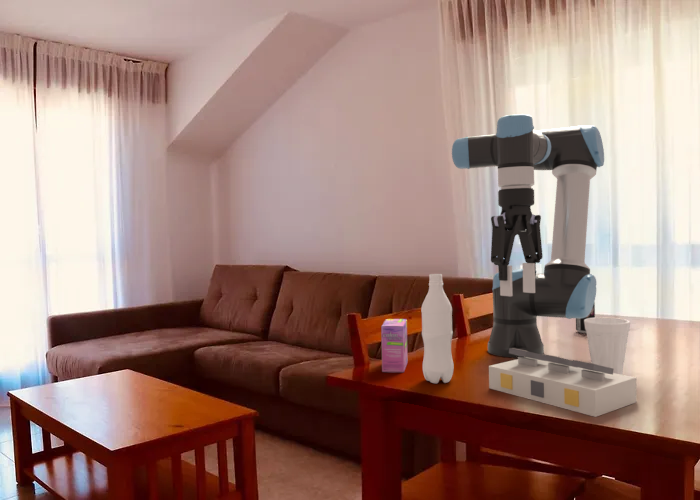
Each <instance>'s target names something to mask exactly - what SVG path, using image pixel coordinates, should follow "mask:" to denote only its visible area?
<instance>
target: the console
mask: <svg viewBox="0 0 700 500" xmlns="http://www.w3.org/2000/svg"><path fill="white" fill-rule="evenodd" d="M488 388H489V389H491V390H494V391H497V392H501V393H505V394H509V395H513V396H516V397H521V398H525V399H528V400H531V401H535V402H537V403H538V402H539V403H543V404H547V405H551V406H555V407H556V408H557V407H558V408H561V409H565V410H569V411H572V412H576V413H580V414H584V415H587V416H591V417H595V418H597V417H599V416H601V415H605V414H608V413H610V412H613V411H616V410H618V409H621V408H624V407H627V406H629V405H633V404H635V403H637V377H636V376H631V375H625V374H622V375H621V374H616V373H613V375H612V374H607V373H602V372H597V371H592V370H587V369H583V368H579V367H572V366H567V365H562V364H557V363H553V362H548V361H542V360H537V359H532V358H527V357H517V358H516V359H513V360H512V359H511V360H509V361H504V362H500V363H495V364H492V365H488Z"/></svg>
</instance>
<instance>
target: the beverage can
mask: <svg viewBox="0 0 700 500" xmlns="http://www.w3.org/2000/svg"><path fill="white" fill-rule="evenodd" d="M595 305H596V302H595V301H594V305H593V308H592V310H591V312H590V314H589V315H588V316H587V317H585V318H575V330H576V331H577V332H578V333H580V334H587V333H586V329H585V324H584V320H585V319H587V318H595V317H596V309H595V308H596V306H595Z"/></svg>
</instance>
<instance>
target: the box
mask: <svg viewBox="0 0 700 500" xmlns="http://www.w3.org/2000/svg"><path fill="white" fill-rule="evenodd" d="M380 328H381V329H380V330H381V372H382V373H405V370H406V368H407V365H408V361H409V360H408V319H407V318H387V319H385V320H384V321H383V323H382V325H381V326H380Z"/></svg>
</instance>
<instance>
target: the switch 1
mask: <svg viewBox="0 0 700 500" xmlns="http://www.w3.org/2000/svg"><path fill="white" fill-rule="evenodd" d="M509 353H510V354H514V355H519V356H523V357H527V358H532V359H537V360H540V359H539V355H540V354H537V353H532V352H528V351H525V350H520V349H515V348H509ZM542 361H544V360H542Z"/></svg>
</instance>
